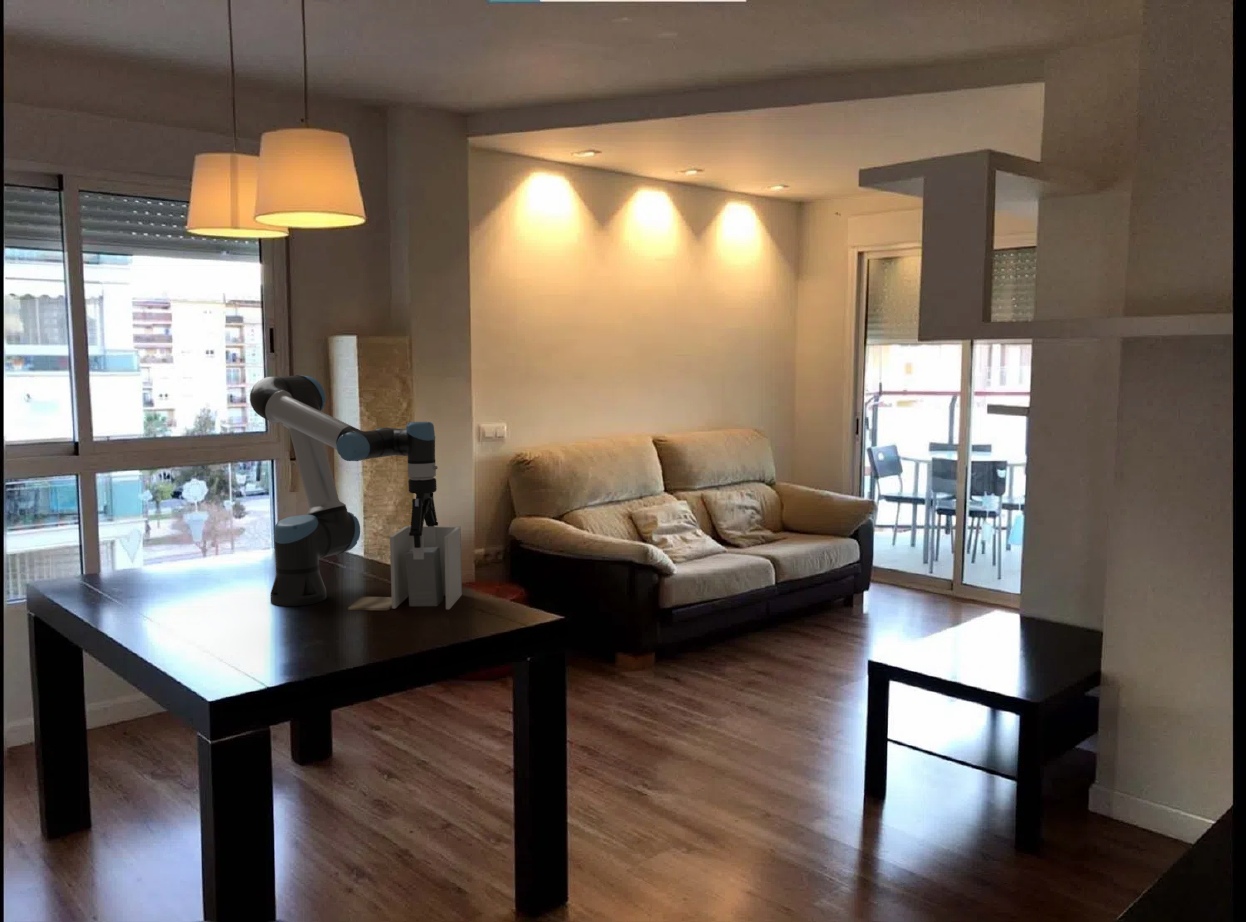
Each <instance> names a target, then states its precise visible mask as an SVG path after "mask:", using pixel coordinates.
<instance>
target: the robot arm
mask: <svg viewBox="0 0 1246 922" xmlns="http://www.w3.org/2000/svg"><path fill="white" fill-rule="evenodd" d="M325 392H326V391H325V389H324V387H323V386H322V384H321V383H320V382H319V381H318V380H317V378H316V379H315V378H314V377H312V376H309V375H302V374H296V375H287V376H286V375H285V376H284V375H283V376H266V377H264V378H263V377H262V378H261V379H260V380H258V381H257V382H256V383H255V384H254V385H253V386H252V388H251V390H250V392H249V393H250V394H249V401H250V407H252V409H253V411H254V412H255V414H257V415H258V416H260V417H261V418H263V419H265V420H267V421H268V422H271V423H273V424H278V423H281V425H282V426H283V427H284V428H286V429H288V431H289V435H290V438H291V442H292V446H293V449H294V454H295V458H296V462H297V466H298V469H299V472H300V476H301V481H302V484H303V488H304V492H305V496H306V499H307V500H306V501H307V503H308V511H307V512H306V514H299V515H296V516H295V515H293V516H288V517H285V518H283V519H281V520H279V521H277V522H276V524H275V525H274V535H273V540H274V554H275V555H274V557H275V578H274V581H273V584H272V588H271V591H270V603H271V604H273V605H275V606H282V607H298V606H299V607H300V606H301V607H302V606H308V605H313V604H317V603H320V602H323V601H325V600H326V599H327V589H326V586H325V583H324V581H323V578H322V575H321V572H320V559H322V558H327V557H331V556H334V555H340V554H344V553H345V552H348V551H350V550H352V549H353V548H355V546H356V545H357V544H358V541H360V537H361V526H360V525H361V524H360V521H359V519H358V517H357V516H356V515H355V514H354V513H352V512H349V511H348V508H347V505H346V504H345V503H344V502H342V501H340V499H339V495H338V492H337V489H336V484H335V480H334V476H333V472H332V468H331V465H330V462H329V457H328V454H327V450H326V449H327V448H326V446H325V445H327V446H329V447H330V448H332V449H335V450H336V451H337V454H338V455H339V457H340V458H341V459H342V460H344V461H345V462H346V461H347V462H360V461H364V460H369V459H370V460H371V459H377V458H384V457H385V458H386V457H392V456H397V457H398V456H399V457H400V456H402V457H403V456H404V457H406V458H407V477H408V478H409V479H408V481H407V482H408V492H409V493H410V494H415V498H412V501H411V502H412V506H411V507H412V508H411V519H410V526H411V529H410V533H409V536H413V559H424V543H423V535H422V531H423V526H424V523H425V526H426V527H425V539H426V547H436V537H435V526H439V521H438V518H437V512H436V506H435V501H434V493H435V492H437V488H438V487H437V479H436V478H435V477H436V475H437V472H436V470H438V469H439V467H438V465H436V435H435V434H436V433H435V426H434V423H432V422H431V421H410V422H409V421H408V422H407V424H406V425H405V426H406V427H405V428H392V427H391V428H390V427H380V428H376V429H374V430H366V431H365V430H361V429H358V427H354V426H352V425H351V424H349V423H347V422H344V421H342V420H339V418H338V419H337V418H336V417H333V416H331V415H329V414H327V413H325V412H323V409H324V408H325V403H326V398H327V397H326V393H325Z"/></svg>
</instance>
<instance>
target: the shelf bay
mask: <svg viewBox="0 0 1246 922" xmlns="http://www.w3.org/2000/svg"><path fill="white" fill-rule="evenodd" d="M425 527H426V525H425V526H424V525H423V531H422V535H423V543H424V547H426V539H425ZM410 529H411V525H405V526H404V527H402V528H400V529H399V530H397V531H396V532H395V533H393V534H392V535H390V536H389V552H390V554H389V555H390V559H389V560H390V587H391V597H392V607H391V609H397V608H398V607H399V606H400V605H401V604H402V603H403V602H404V601H405V600H406V599H407V598H409V595H408V580H407V566H406V554H405V553H406V552H407V551H409V550H410V549H411V548H413V536H409V533H410ZM461 530H462V528H461V526H439V525H438V526H435V537H436V547H439V548H440V561H441V575H442V589H443V596H445V610H450V609H451V608H452V607H453V606H454V605H455V604H456V603H457V601H458V600H459V599H460V598H461V597H462V596H463V595H462V594H463V591H462V590H463V589H462V587H463V586H462V585H463V583H462V580H463V579H462V578H463V576H462V538H461V537H462V534H461V533H462V531H461Z"/></svg>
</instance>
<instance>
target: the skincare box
mask: <svg viewBox="0 0 1246 922" xmlns="http://www.w3.org/2000/svg"><path fill="white" fill-rule="evenodd" d="M405 554H406V566H407V580H408V595H409V596H408V606H409V607H438V606H439V605H440V604H441V603H442V602H443V601H444V595H443V589H442V575H441V561H440V548H439V547H424V559H413V548H411V549H410V550H409V551H407V552H406V553H405Z"/></svg>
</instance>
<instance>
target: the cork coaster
mask: <svg viewBox="0 0 1246 922" xmlns="http://www.w3.org/2000/svg"><path fill="white" fill-rule="evenodd" d="M390 609H392V596H360V598H358V599H357V600H356V601H354V602H353V603H352V604H351V605H349V607H347V610H348V611H389V610H390Z"/></svg>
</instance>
